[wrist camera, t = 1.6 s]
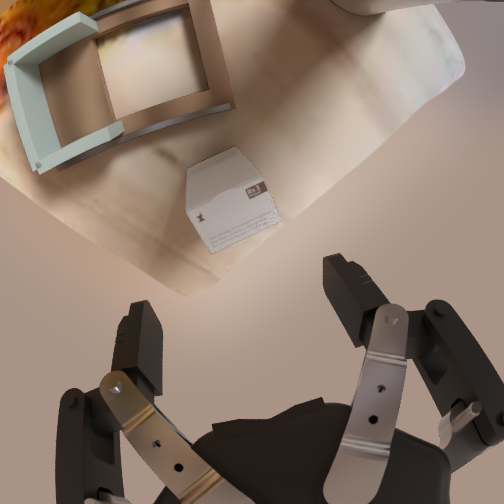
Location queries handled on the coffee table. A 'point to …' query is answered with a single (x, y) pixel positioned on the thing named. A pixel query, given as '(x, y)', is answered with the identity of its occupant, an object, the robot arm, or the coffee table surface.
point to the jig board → (95, 90)
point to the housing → (34, 101)
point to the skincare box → (228, 200)
